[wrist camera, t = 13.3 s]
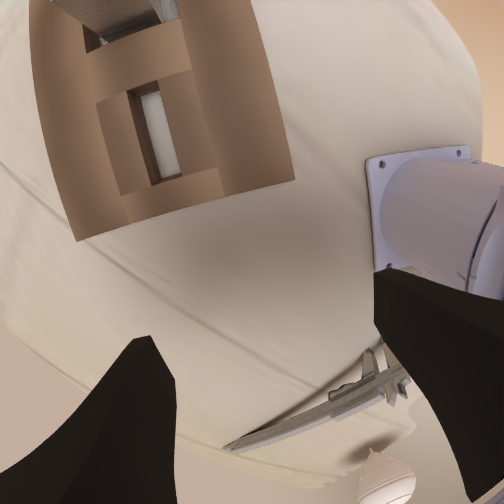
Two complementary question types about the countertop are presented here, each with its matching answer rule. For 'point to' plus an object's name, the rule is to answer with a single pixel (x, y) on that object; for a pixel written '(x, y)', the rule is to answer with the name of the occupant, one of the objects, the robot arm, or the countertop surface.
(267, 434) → the caliper
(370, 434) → the countertop surface
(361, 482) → the spinning top
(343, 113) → the countertop surface
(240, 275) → the countertop surface
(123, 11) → the peg
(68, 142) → the socket block
